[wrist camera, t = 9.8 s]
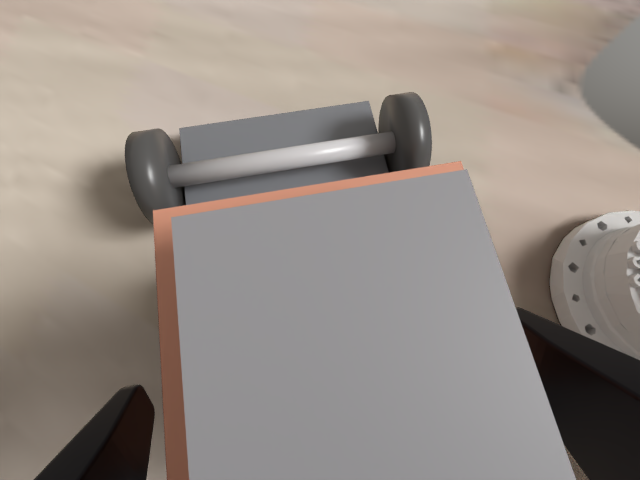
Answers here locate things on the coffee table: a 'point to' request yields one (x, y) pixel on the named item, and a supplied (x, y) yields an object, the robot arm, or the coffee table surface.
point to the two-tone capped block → (346, 338)
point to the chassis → (277, 152)
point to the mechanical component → (601, 281)
